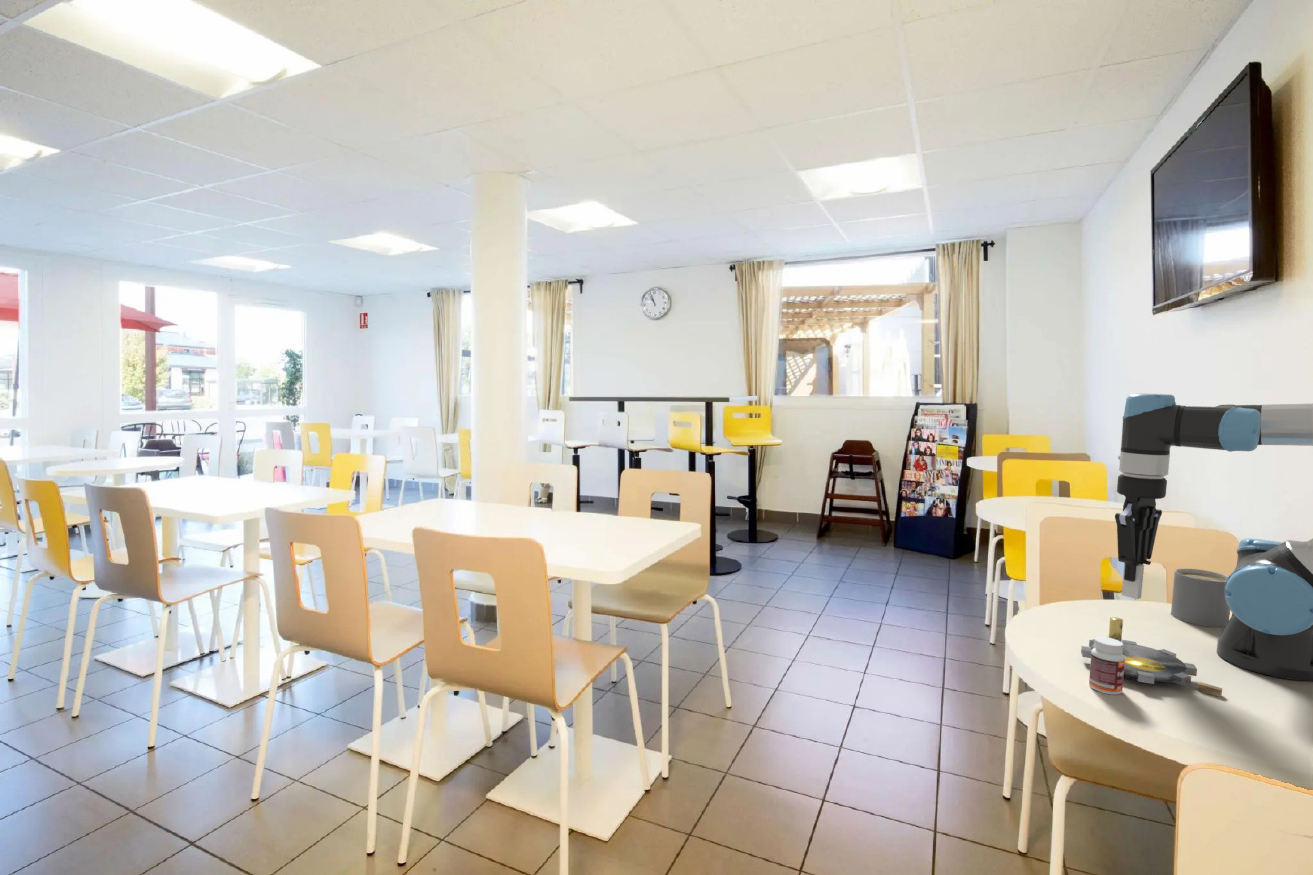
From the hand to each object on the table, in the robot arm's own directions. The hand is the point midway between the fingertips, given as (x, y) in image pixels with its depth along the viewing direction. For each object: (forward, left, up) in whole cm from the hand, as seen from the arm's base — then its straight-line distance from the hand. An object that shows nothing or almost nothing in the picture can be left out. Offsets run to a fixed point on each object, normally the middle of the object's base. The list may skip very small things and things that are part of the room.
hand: (1131, 596), depth 128 cm
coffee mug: (-18, -31, -11) cm, 38 cm away
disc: (0, +10, -10) cm, 14 cm away
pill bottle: (+6, +21, -11) cm, 24 cm away
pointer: (-9, +14, -11) cm, 20 cm away
